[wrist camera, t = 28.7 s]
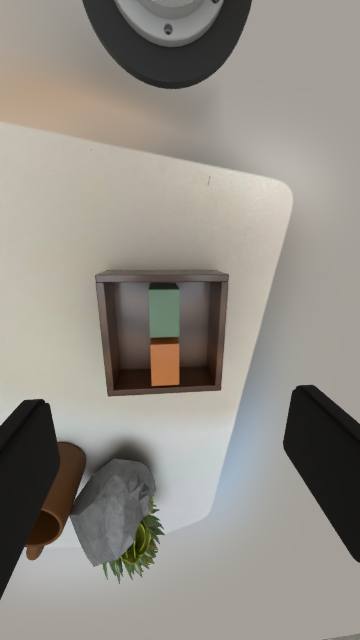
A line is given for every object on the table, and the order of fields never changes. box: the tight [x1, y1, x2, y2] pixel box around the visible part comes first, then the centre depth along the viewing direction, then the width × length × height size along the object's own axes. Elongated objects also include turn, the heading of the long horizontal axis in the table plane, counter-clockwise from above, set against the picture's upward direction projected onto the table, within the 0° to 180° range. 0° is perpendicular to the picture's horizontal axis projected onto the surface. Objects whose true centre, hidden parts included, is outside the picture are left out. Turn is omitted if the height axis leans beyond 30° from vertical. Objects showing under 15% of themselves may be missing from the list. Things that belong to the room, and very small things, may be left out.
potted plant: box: [69, 458, 165, 584], centre depth 33 cm, size 12×13×15 cm
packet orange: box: [150, 337, 179, 386], centre depth 29 cm, size 6×3×5 cm, turn 0°
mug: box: [24, 443, 86, 560], centre depth 32 cm, size 12×8×9 cm, turn 168°
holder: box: [95, 270, 229, 396], centre depth 28 cm, size 15×14×6 cm
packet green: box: [148, 283, 180, 338], centre depth 27 cm, size 6×3×5 cm, turn 0°
